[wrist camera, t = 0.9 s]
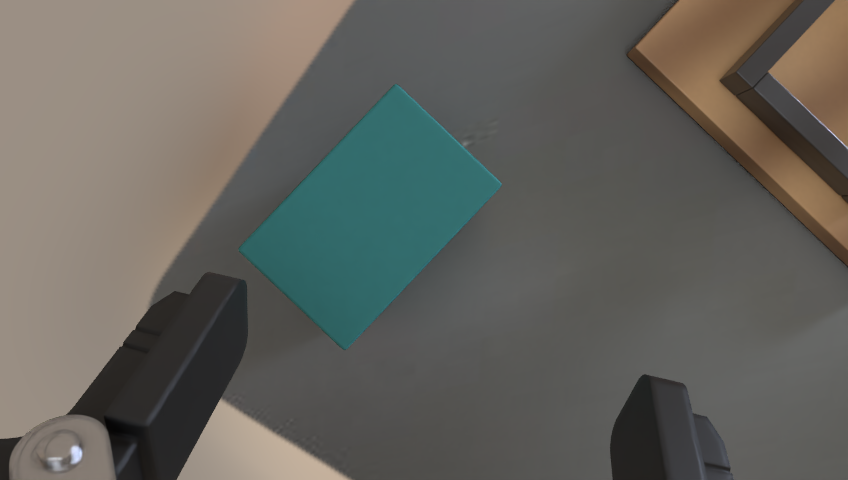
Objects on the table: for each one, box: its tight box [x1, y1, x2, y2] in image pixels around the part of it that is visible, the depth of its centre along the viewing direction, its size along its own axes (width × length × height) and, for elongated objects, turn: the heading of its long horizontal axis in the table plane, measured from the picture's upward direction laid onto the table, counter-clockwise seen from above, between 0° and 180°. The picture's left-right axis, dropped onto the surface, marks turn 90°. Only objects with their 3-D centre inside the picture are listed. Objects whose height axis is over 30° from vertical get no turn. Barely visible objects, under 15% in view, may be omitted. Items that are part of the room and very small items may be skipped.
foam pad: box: [238, 84, 502, 350], centre depth 24 cm, size 4×7×10 cm, turn 137°
